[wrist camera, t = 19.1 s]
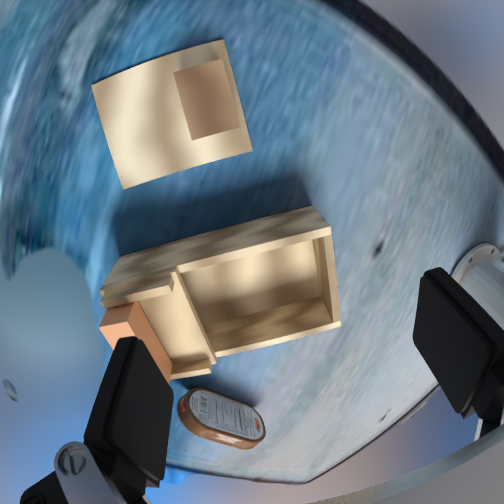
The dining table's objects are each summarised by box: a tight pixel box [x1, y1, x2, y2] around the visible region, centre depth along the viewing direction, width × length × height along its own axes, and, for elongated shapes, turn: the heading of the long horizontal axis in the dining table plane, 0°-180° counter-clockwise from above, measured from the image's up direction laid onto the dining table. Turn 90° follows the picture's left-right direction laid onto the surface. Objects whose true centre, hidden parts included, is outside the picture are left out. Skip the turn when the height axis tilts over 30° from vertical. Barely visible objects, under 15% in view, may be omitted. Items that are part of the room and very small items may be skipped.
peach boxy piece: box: [99, 301, 173, 385], centre depth 26 cm, size 3×9×5 cm, turn 13°
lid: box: [92, 39, 253, 190], centre depth 24 cm, size 14×12×6 cm
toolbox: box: [100, 206, 341, 380], centre depth 31 cm, size 22×12×8 cm, turn 103°
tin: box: [177, 387, 266, 450], centre depth 41 cm, size 15×3×8 cm, turn 52°
